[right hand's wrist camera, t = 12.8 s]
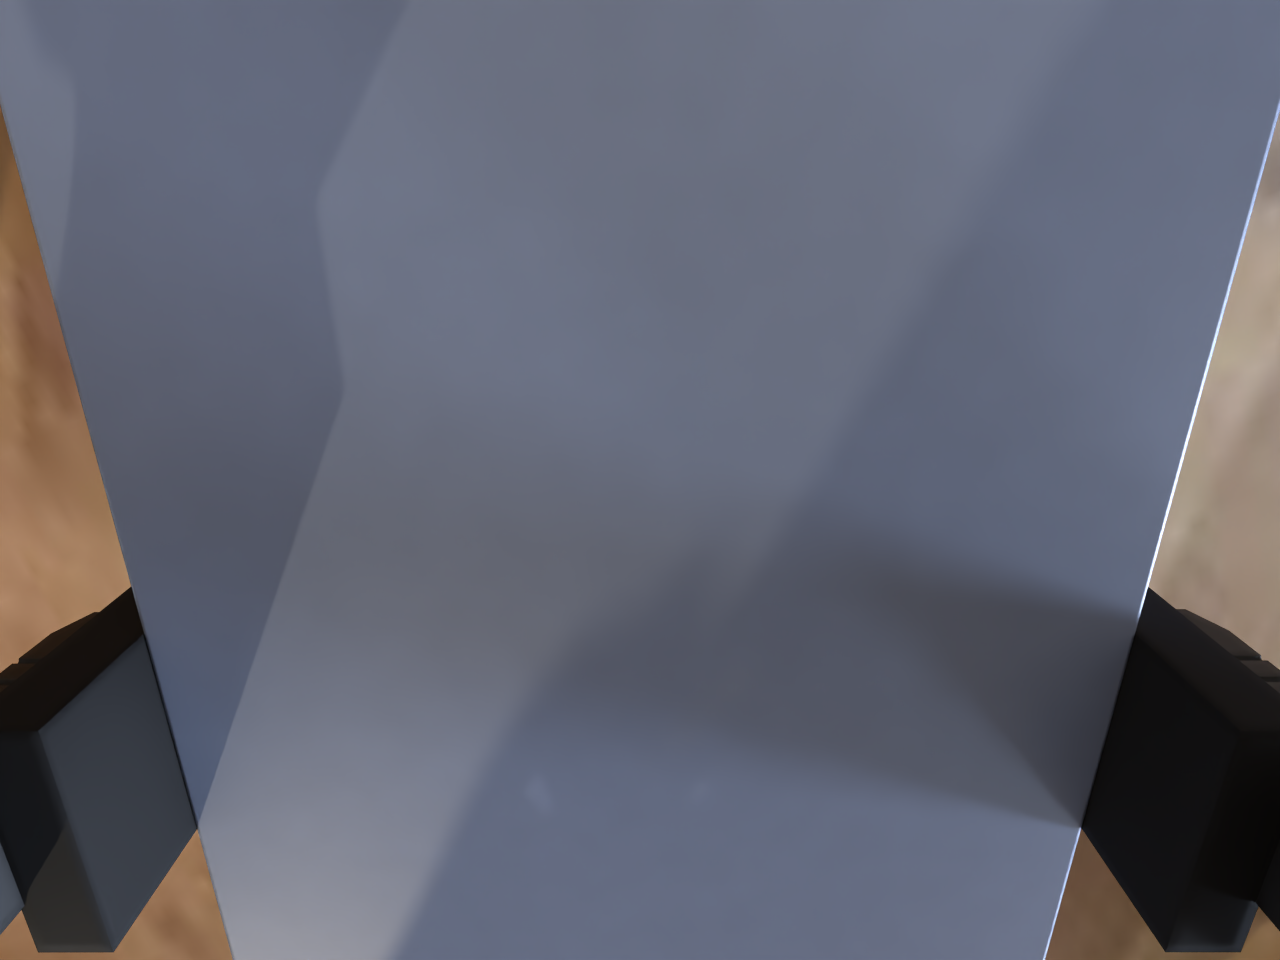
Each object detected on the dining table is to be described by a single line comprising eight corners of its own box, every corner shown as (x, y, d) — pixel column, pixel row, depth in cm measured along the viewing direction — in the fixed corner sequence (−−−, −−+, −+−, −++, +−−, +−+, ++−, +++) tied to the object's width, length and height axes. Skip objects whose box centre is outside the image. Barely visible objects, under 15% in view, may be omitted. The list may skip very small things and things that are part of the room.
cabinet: (351, -274, 14) (-436, -1479, 4) (930, -273, 14) (1722, -1468, 4) (441, 583, 21) (242, 1002, 10) (837, 584, 21) (1035, 1003, 10)
